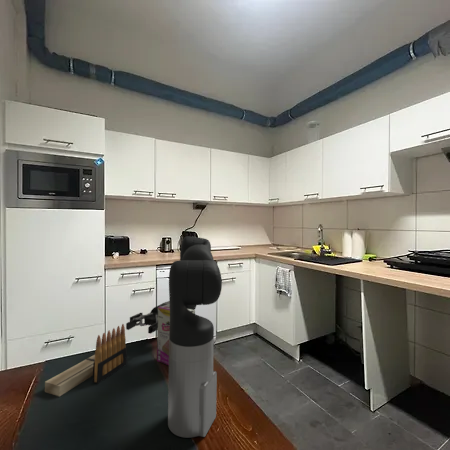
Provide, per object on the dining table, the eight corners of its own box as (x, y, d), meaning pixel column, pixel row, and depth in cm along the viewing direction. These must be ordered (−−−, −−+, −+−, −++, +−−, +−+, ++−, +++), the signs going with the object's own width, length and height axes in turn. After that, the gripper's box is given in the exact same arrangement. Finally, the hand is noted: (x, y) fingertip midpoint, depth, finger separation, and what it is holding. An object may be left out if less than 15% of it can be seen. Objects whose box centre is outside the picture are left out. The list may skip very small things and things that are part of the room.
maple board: (110, 363, 76) (111, 355, 76) (59, 396, 61) (59, 385, 61) (97, 360, 77) (97, 352, 77) (44, 391, 62) (45, 381, 62)
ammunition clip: (97, 384, 66) (98, 336, 66) (92, 382, 66) (93, 335, 67) (126, 364, 76) (127, 323, 76) (121, 363, 76) (122, 322, 77)
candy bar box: (155, 361, 77) (156, 307, 78) (167, 355, 81) (168, 303, 82) (183, 373, 71) (184, 313, 72) (195, 365, 75) (195, 309, 76)
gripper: (149, 301, 100) (120, 314, 85) (181, 305, 96) (157, 319, 81) (148, 320, 100) (119, 337, 85) (181, 325, 96) (156, 343, 80)
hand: (137, 328), depth 83 cm, fingers open, 8 cm apart
